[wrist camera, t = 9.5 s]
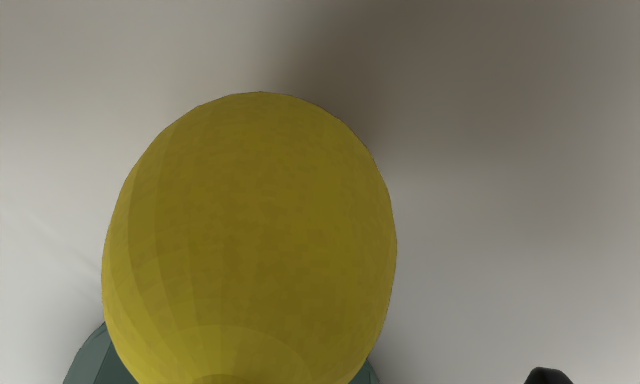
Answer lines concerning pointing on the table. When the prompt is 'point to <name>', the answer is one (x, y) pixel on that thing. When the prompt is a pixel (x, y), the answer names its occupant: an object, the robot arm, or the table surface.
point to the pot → (114, 378)
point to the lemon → (250, 249)
